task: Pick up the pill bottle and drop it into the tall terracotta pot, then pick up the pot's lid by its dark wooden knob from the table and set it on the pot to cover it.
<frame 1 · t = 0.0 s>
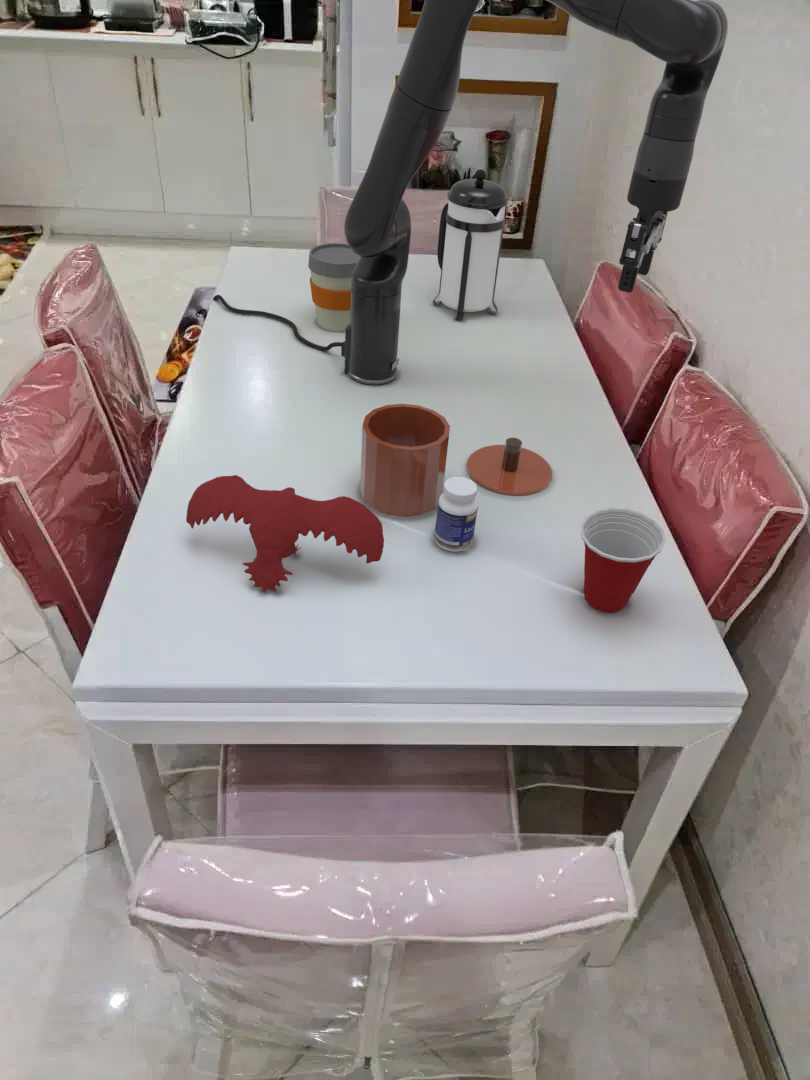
hand: (633, 282, 124), 29 cm above the table, tool pointing down, fingers open, 8 cm apart
coffee press: (460, 307, 186), on the table
decorative bird sculpture: (279, 565, 112), on the table
reusable coffee cup: (338, 323, 175), on the table
pot: (401, 494, 127), on the table
lid: (508, 470, 133), point 1 cm above the table
plastic cup: (602, 599, 111), on the table
pill bottle: (453, 541, 119), on the table
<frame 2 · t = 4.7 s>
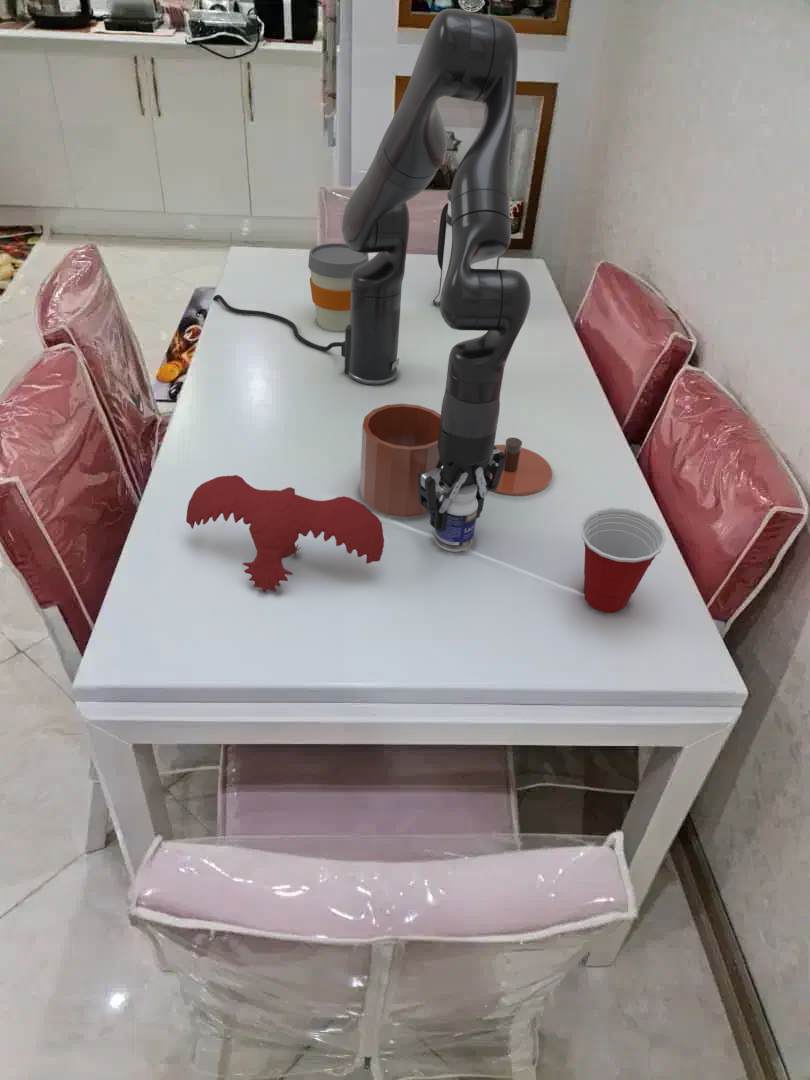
hand: (455, 521, 117), 4 cm above the table, tool pointing down, fingers closed on pill bottle, 5 cm apart
pill bottle: (453, 541, 119), on the table, touching gripper
everything else where it was.
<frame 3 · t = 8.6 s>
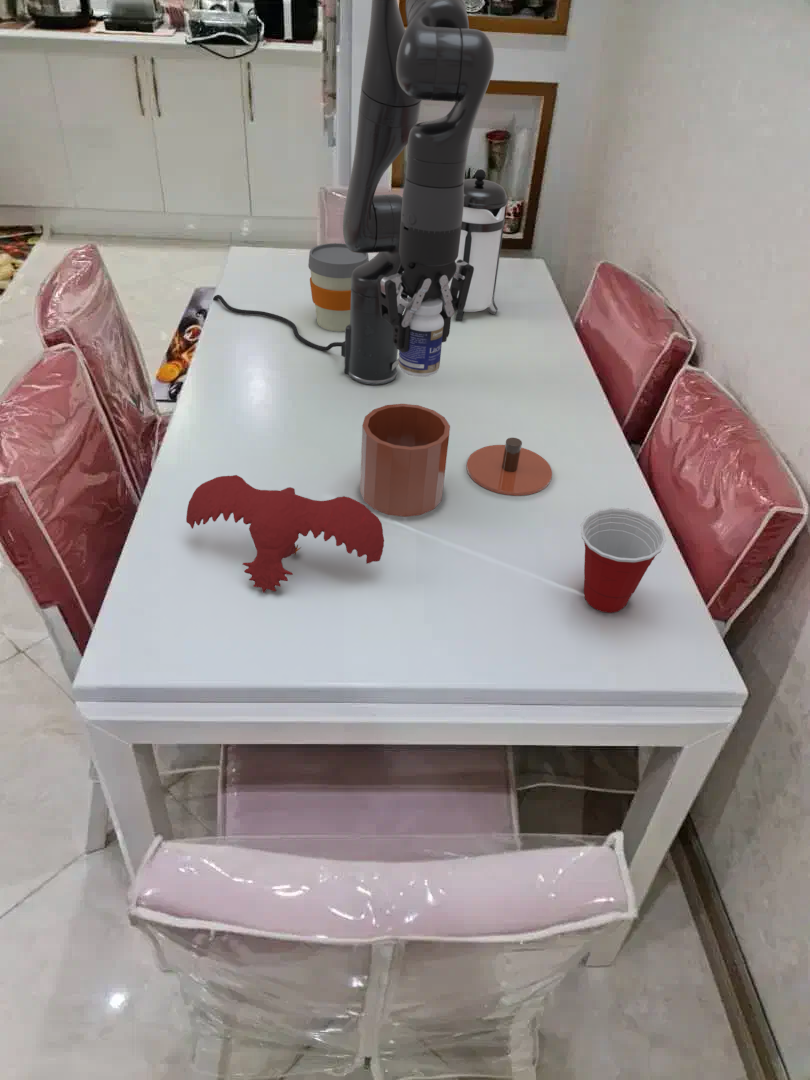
hand: (420, 344, 110), 26 cm above the table, tool pointing down, fingers closed on pill bottle, 5 cm apart
pill bottle: (418, 369, 112), point 22 cm above the table, touching gripper
everything else where it was.
when the fingers open (11 cm above the table, at t = 12.8 s): pill bottle drops 7 cm, resting on pot.
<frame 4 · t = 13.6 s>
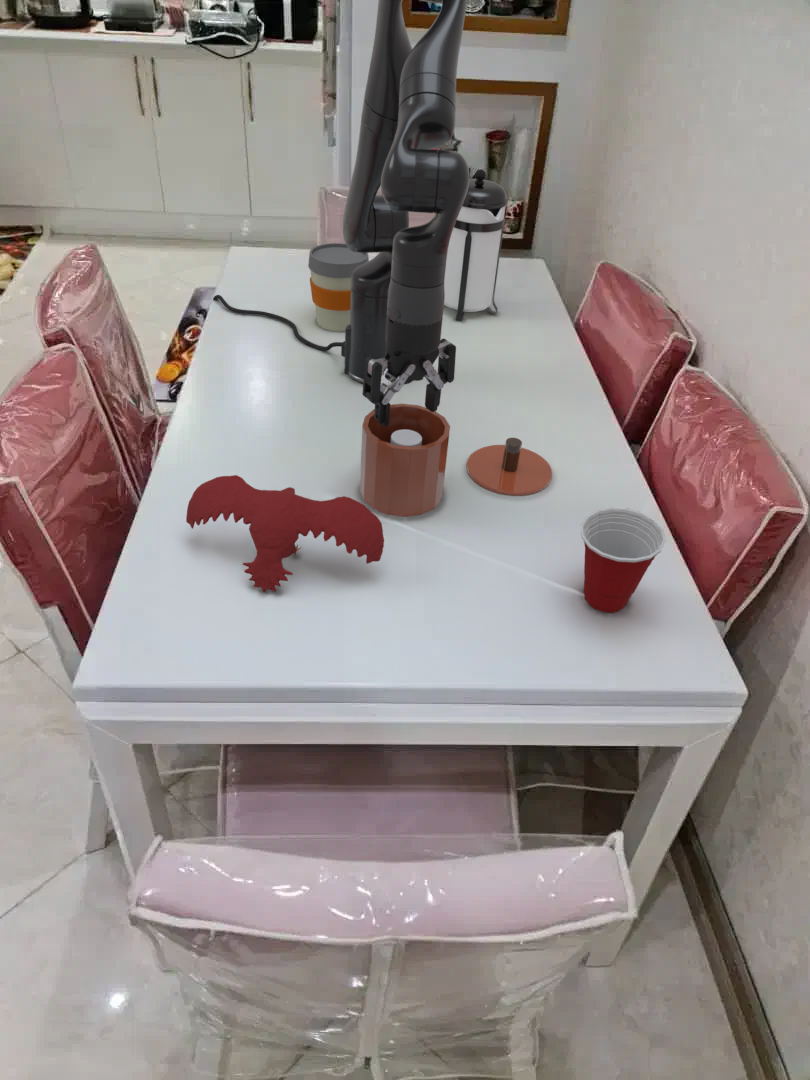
hand: (406, 416, 118), 14 cm above the table, tool pointing down, fingers open, 8 cm apart
pill bottle: (402, 492, 127), resting on pot
everything else where it was.
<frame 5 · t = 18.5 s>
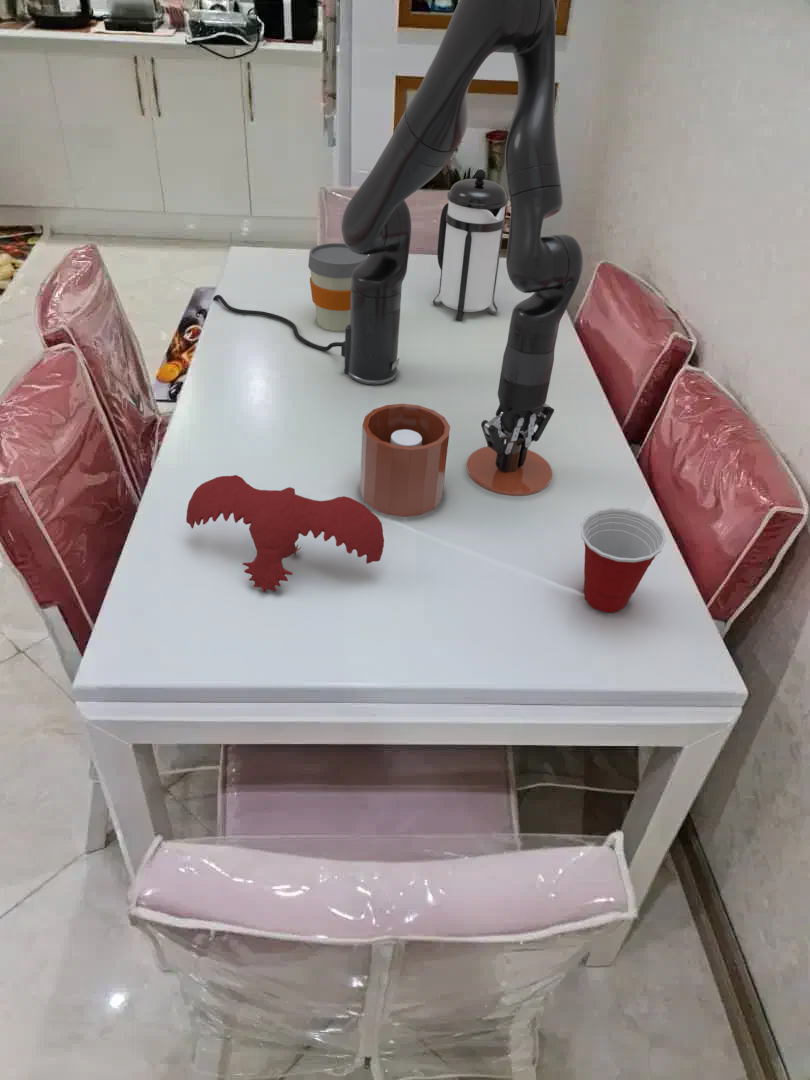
hand: (509, 466, 133), 1 cm above the table, tool pointing down, fingers closed on lid, 2 cm apart
lid: (509, 470, 133), point 1 cm above the table, touching gripper
everything else where it was.
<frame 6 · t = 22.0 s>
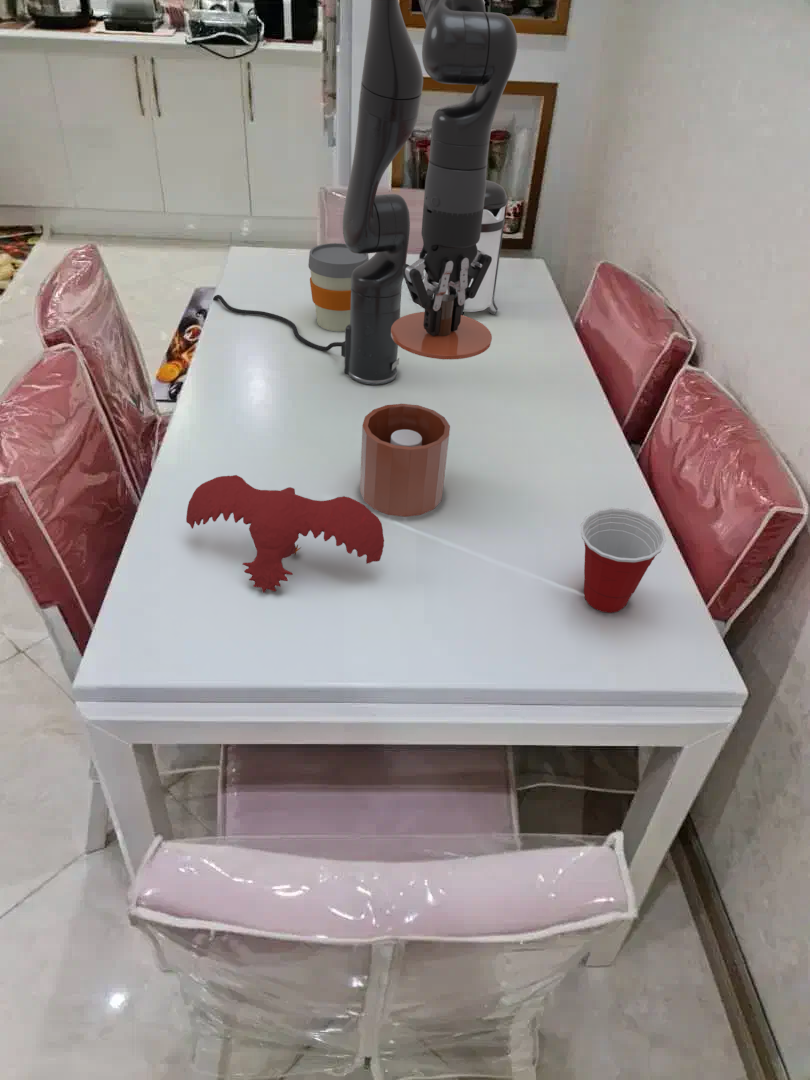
hand: (441, 330, 112), 27 cm above the table, tool pointing down, fingers closed on lid, 2 cm apart
lid: (441, 336, 112), point 26 cm above the table, touching gripper
everything else where it was.
when the fingers open (13 cm above the table, at t = 25.6 s): lid stays where it is, resting on pot.
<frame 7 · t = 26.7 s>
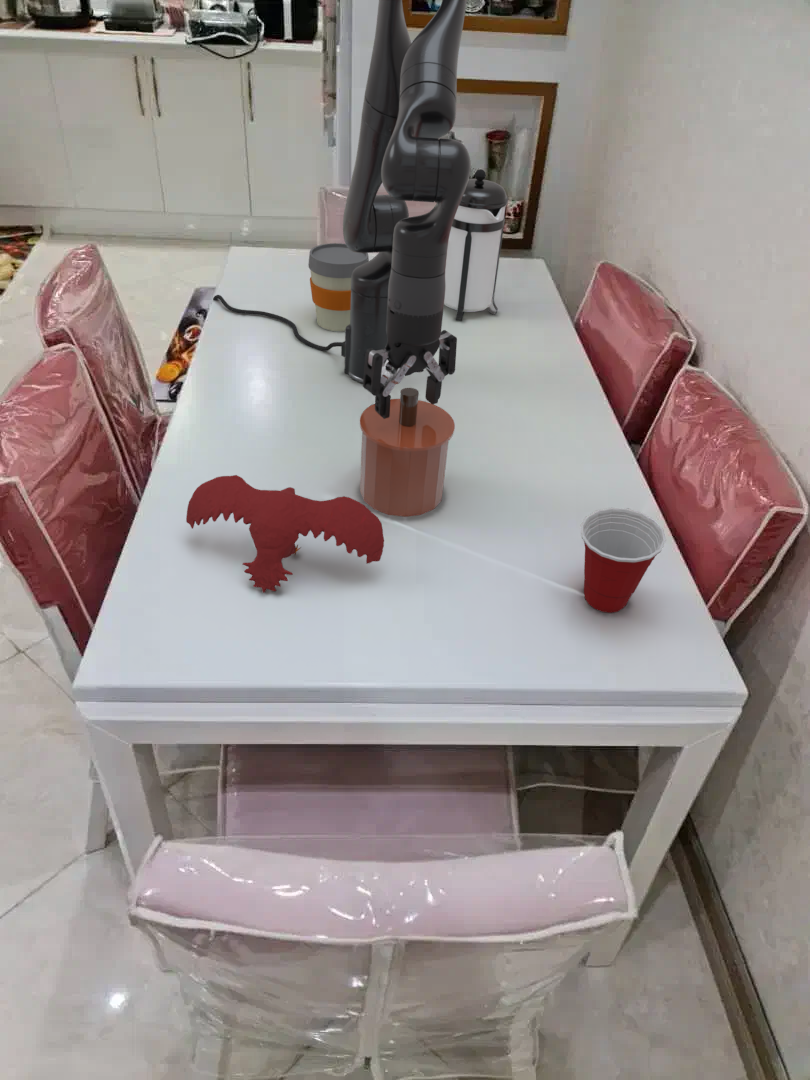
hand: (407, 408, 118), 15 cm above the table, tool pointing down, fingers open, 8 cm apart
lid: (407, 425, 119), point 12 cm above the table, touching pot
everything else where it was.
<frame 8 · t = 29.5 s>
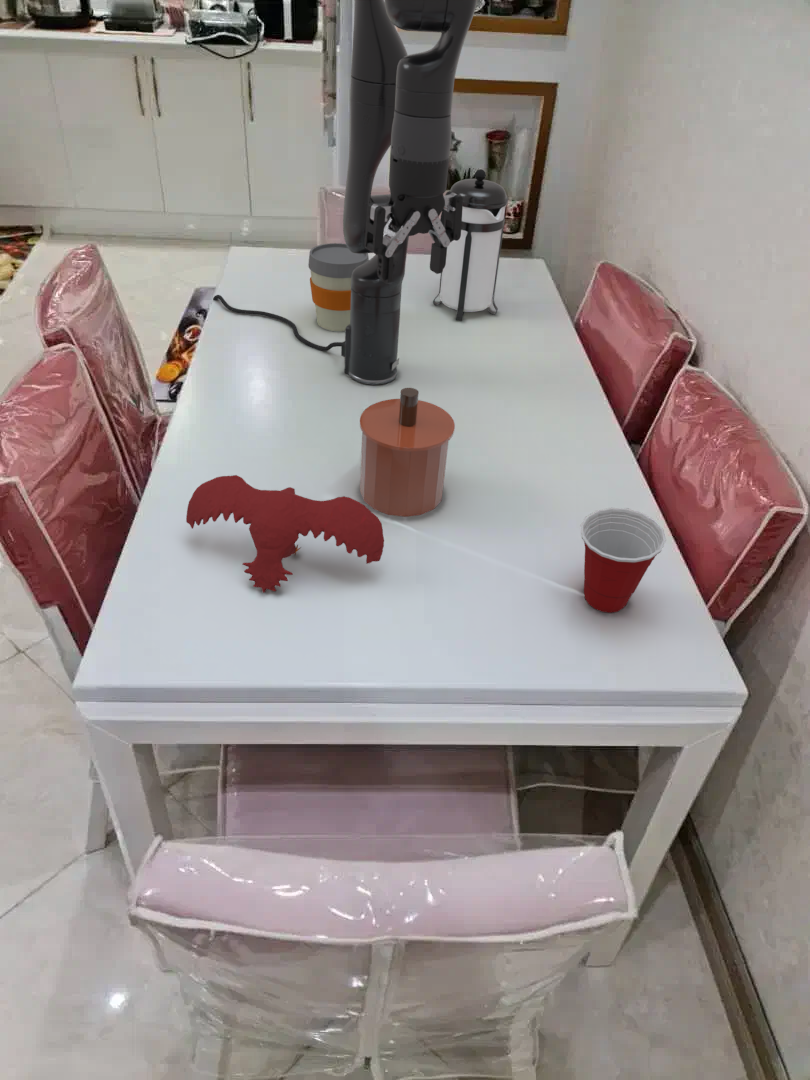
hand: (411, 276, 113), 32 cm above the table, tool pointing down, fingers open, 8 cm apart
nothing on the table moved.
at the end: pill bottle inside the target area in the pot (0.2 cm from its centre), point 0.3 cm above the pot's base; lid 0.1 cm off-centre on the pot, point 12.5 cm above the pot's base; lid tilted 0° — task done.
